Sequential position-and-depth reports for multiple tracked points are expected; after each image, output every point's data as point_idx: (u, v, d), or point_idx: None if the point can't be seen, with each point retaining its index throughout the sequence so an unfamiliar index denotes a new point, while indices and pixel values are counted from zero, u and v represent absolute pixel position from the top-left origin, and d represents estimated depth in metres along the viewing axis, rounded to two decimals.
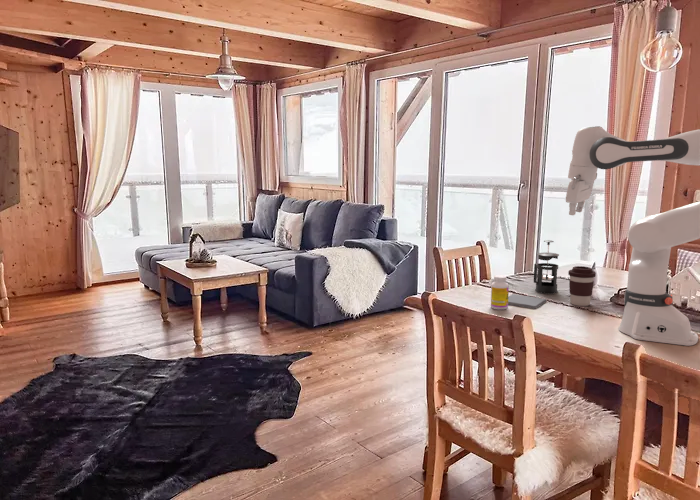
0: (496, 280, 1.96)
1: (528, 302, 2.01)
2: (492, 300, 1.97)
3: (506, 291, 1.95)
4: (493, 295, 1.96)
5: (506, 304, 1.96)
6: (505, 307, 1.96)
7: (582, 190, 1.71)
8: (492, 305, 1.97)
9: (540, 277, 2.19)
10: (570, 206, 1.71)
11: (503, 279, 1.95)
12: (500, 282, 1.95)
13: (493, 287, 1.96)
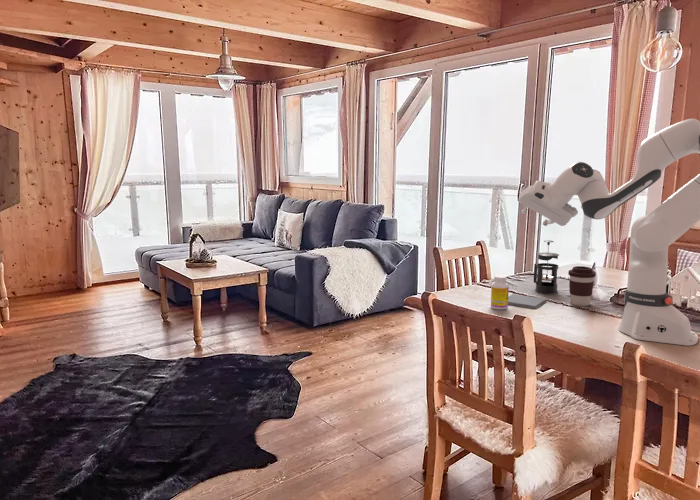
0: (496, 280, 1.96)
1: (528, 302, 2.01)
2: (492, 300, 1.97)
3: (506, 291, 1.95)
4: (493, 295, 1.96)
5: (506, 304, 1.96)
6: (505, 307, 1.96)
7: None
8: (492, 305, 1.97)
9: (540, 277, 2.19)
10: None
11: (503, 279, 1.95)
12: (500, 282, 1.95)
13: (493, 287, 1.96)
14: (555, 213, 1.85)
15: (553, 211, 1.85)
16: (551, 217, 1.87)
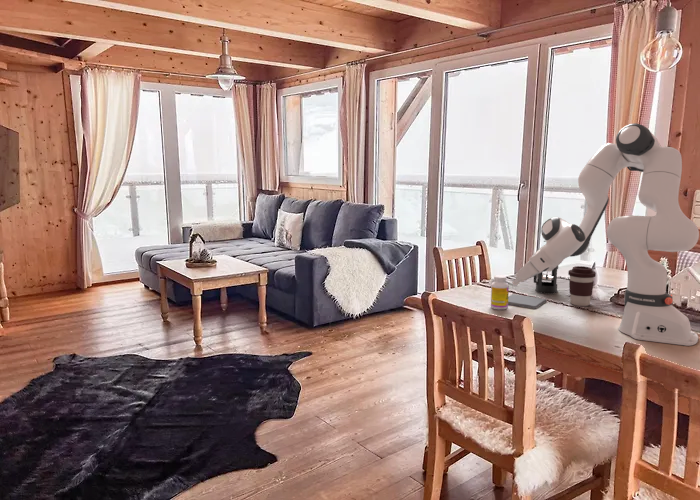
0: (496, 280, 1.96)
1: (528, 302, 2.01)
2: (492, 300, 1.97)
3: (506, 291, 1.95)
4: (493, 295, 1.96)
5: (506, 304, 1.96)
6: (505, 307, 1.96)
7: None
8: (492, 305, 1.97)
9: (540, 277, 2.19)
10: None
11: (503, 279, 1.95)
12: (500, 282, 1.95)
13: (493, 287, 1.96)
14: None
15: None
16: (537, 273, 1.92)
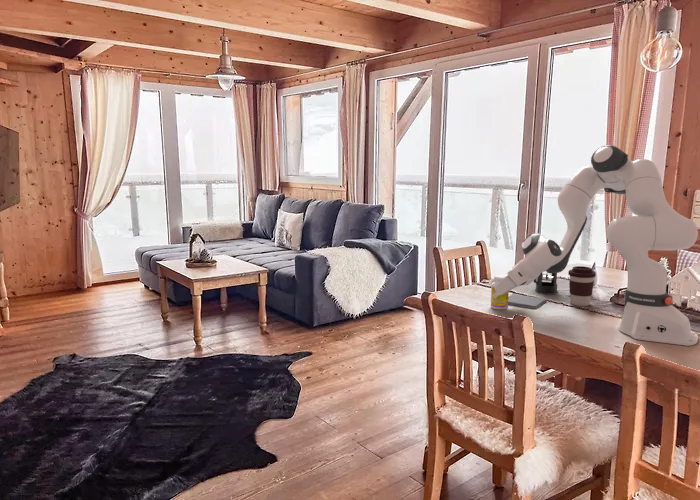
0: (496, 280, 1.96)
1: (528, 302, 2.01)
2: (492, 300, 1.97)
3: None
4: None
5: (506, 304, 1.96)
6: (505, 307, 1.96)
7: None
8: (492, 305, 1.97)
9: (540, 277, 2.19)
10: None
11: None
12: None
13: (493, 287, 1.96)
14: None
15: None
16: (516, 286, 1.97)
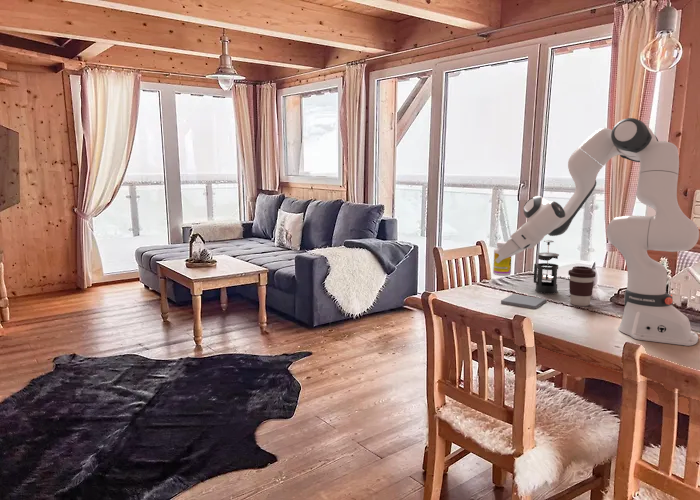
0: (499, 246, 1.94)
1: (528, 302, 2.01)
2: (495, 266, 1.95)
3: (509, 257, 1.93)
4: None
5: (509, 270, 1.94)
6: (508, 273, 1.94)
7: None
8: (495, 271, 1.95)
9: (540, 277, 2.19)
10: None
11: None
12: None
13: (496, 253, 1.94)
14: None
15: None
16: (519, 252, 1.95)
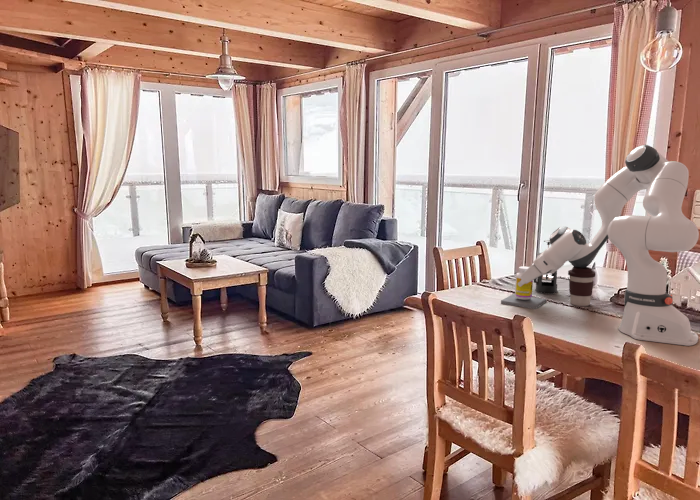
0: (521, 271, 2.02)
1: (528, 302, 2.01)
2: (517, 290, 2.04)
3: (530, 282, 2.02)
4: (518, 285, 2.03)
5: (530, 294, 2.03)
6: (529, 297, 2.03)
7: None
8: (516, 295, 2.04)
9: (540, 277, 2.19)
10: None
11: None
12: None
13: (518, 278, 2.03)
14: None
15: None
16: (540, 275, 2.04)
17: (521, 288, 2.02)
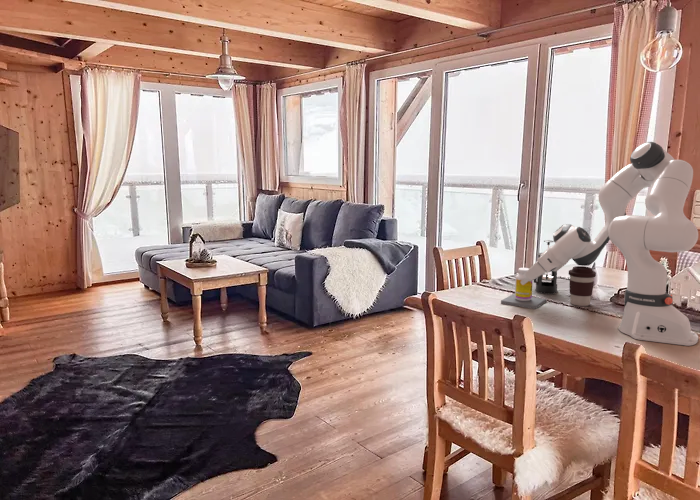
0: (520, 272, 2.03)
1: (528, 302, 2.01)
2: (516, 292, 2.04)
3: (530, 283, 2.02)
4: (517, 287, 2.03)
5: (530, 295, 2.03)
6: (529, 298, 2.03)
7: None
8: (516, 297, 2.04)
9: (540, 277, 2.19)
10: None
11: None
12: None
13: (517, 279, 2.03)
14: None
15: None
16: (543, 273, 2.02)
17: (521, 289, 2.02)
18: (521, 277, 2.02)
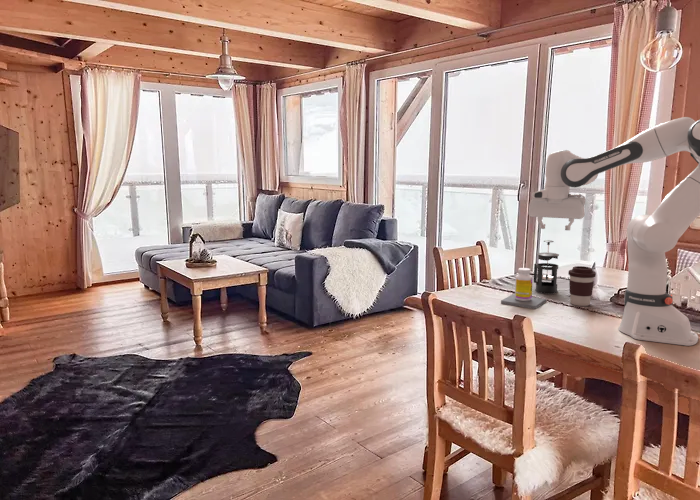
0: (520, 272, 2.03)
1: (528, 302, 2.01)
2: (516, 292, 2.04)
3: (530, 283, 2.02)
4: (517, 287, 2.04)
5: (530, 296, 2.03)
6: (529, 298, 2.03)
7: None
8: (516, 297, 2.05)
9: (540, 277, 2.19)
10: (572, 222, 1.89)
11: (527, 271, 2.02)
12: (524, 274, 2.02)
13: (517, 279, 2.03)
14: (565, 207, 1.89)
15: (562, 207, 1.89)
16: (565, 214, 1.89)
17: (521, 289, 2.02)
18: (521, 277, 2.02)
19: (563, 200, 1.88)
